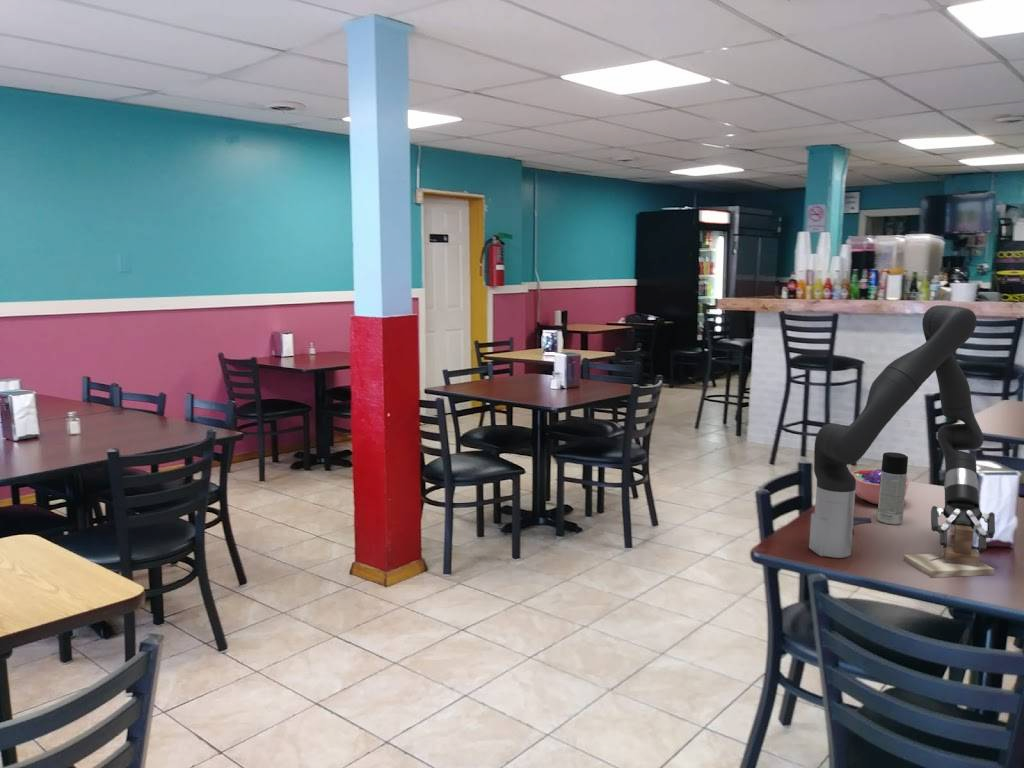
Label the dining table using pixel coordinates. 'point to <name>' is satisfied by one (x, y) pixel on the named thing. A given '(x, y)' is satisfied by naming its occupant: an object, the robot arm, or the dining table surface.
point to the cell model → (870, 484)
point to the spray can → (892, 488)
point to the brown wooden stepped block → (962, 548)
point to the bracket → (860, 521)
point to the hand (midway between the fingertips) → (963, 548)
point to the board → (945, 566)
